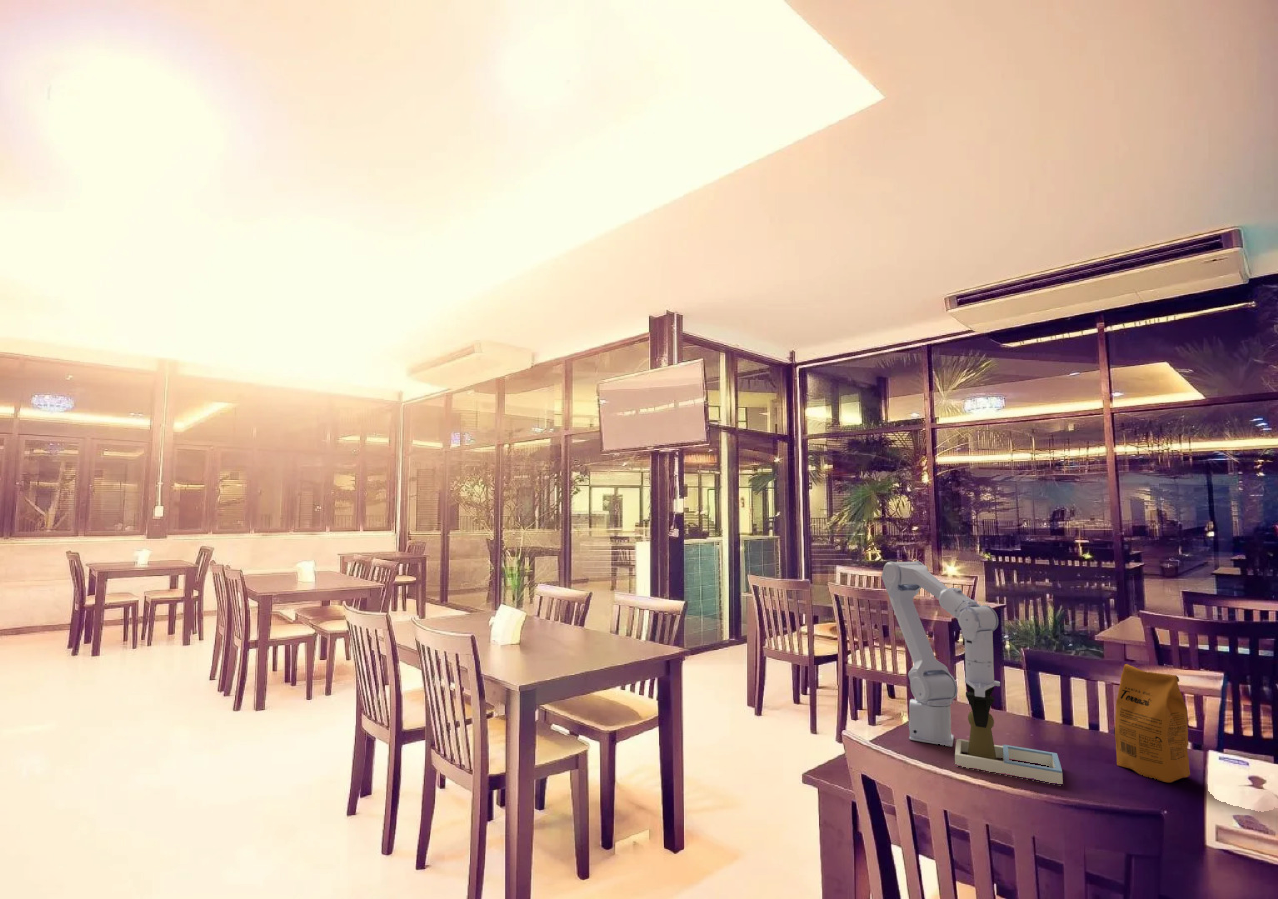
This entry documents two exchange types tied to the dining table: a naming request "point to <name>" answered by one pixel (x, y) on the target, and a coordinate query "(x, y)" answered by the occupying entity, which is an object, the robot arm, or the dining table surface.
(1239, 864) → the dining table surface
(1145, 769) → the coffee package
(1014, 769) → the tray
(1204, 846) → the dining table surface
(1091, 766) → the dining table surface
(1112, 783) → the dining table surface
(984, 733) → the olive tall tapered piece
